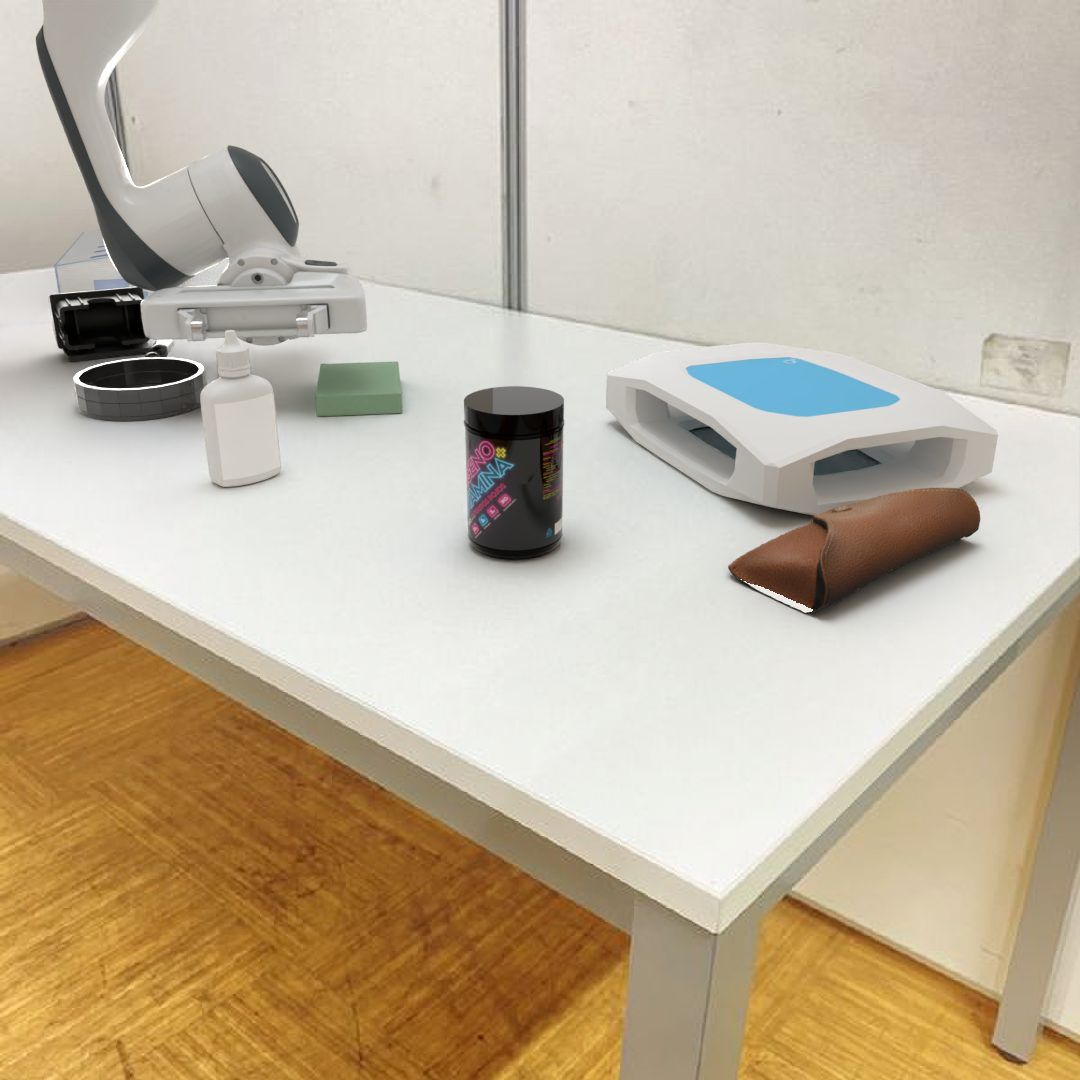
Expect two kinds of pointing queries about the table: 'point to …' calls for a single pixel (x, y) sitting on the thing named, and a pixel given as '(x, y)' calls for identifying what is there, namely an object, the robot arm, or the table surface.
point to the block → (358, 389)
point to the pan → (139, 388)
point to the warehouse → (88, 267)
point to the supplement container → (514, 470)
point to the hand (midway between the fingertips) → (250, 330)
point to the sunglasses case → (858, 544)
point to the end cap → (99, 323)
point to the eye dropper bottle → (239, 420)
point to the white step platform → (797, 424)
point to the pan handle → (160, 349)
